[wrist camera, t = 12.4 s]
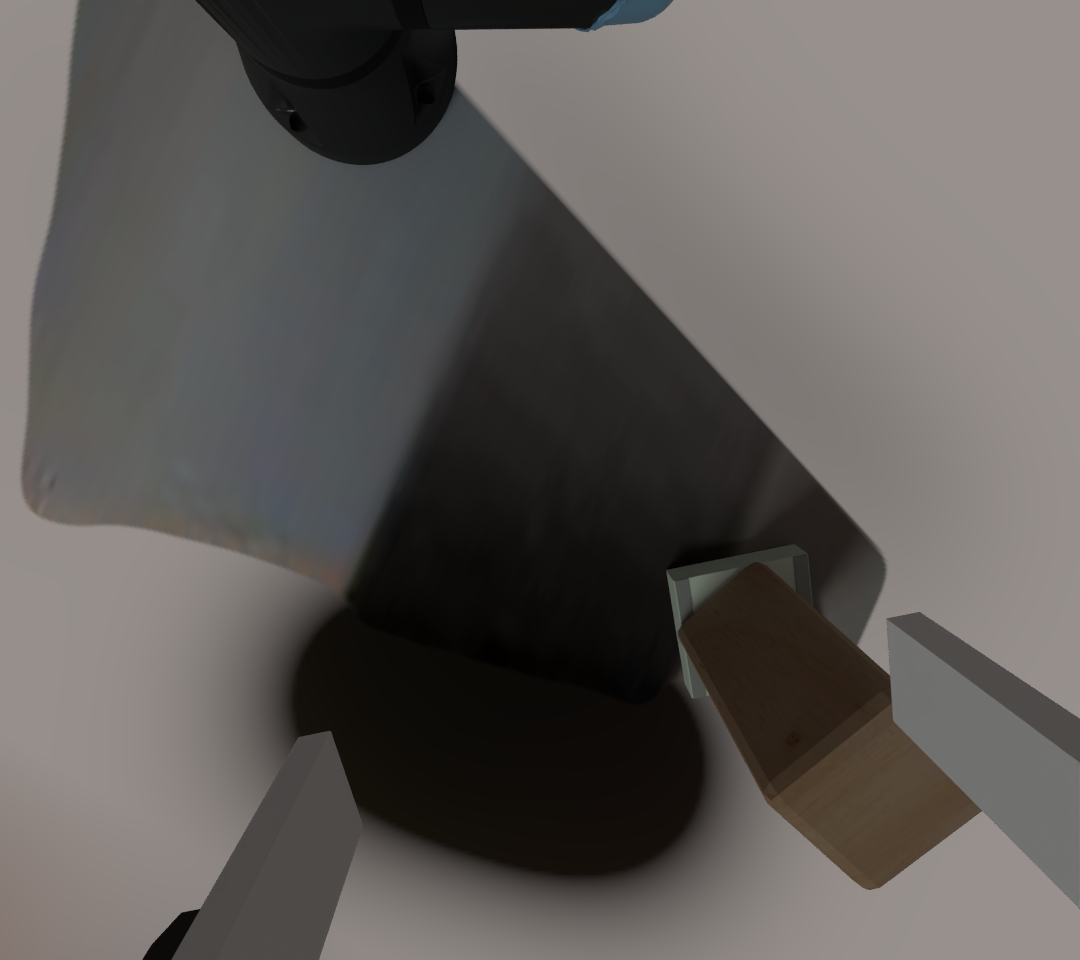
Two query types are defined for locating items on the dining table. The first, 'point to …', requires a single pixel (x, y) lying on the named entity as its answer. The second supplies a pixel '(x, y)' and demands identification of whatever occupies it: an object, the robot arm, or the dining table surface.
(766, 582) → the wooden block
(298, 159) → the dining table surface
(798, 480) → the dining table surface
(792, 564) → the dock
